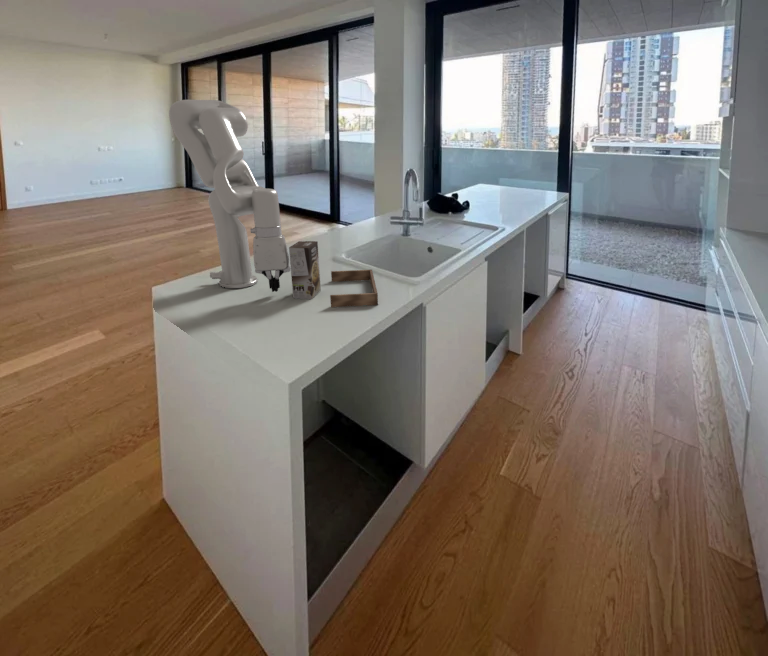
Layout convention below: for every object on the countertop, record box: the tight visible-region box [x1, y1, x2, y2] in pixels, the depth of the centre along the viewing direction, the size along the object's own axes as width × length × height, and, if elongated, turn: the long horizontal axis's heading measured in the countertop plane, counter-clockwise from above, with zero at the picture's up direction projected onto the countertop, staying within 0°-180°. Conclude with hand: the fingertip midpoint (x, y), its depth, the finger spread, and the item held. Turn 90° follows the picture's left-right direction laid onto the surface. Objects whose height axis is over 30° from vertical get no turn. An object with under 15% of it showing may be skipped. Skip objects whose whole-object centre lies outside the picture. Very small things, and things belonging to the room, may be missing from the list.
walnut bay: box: [329, 269, 379, 308], centre depth 157 cm, size 14×26×4 cm, turn 5°
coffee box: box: [288, 240, 322, 300], centre depth 154 cm, size 9×6×16 cm
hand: (275, 290), depth 155 cm, fingers closed
